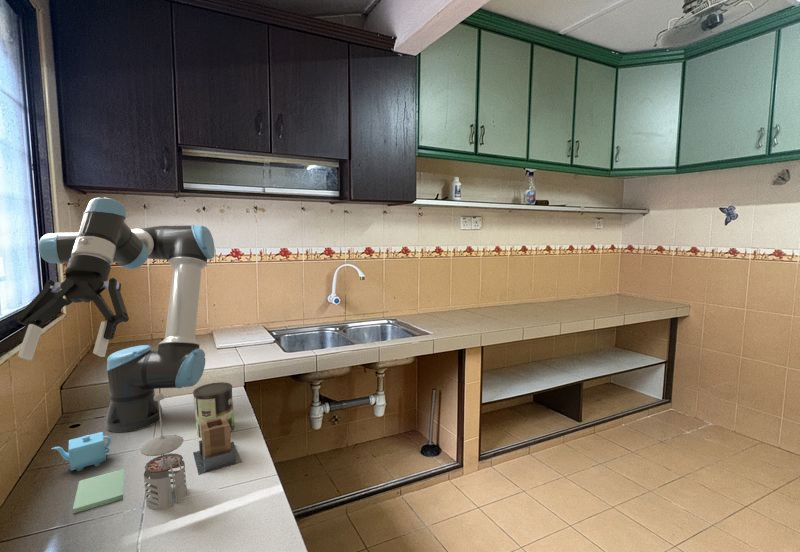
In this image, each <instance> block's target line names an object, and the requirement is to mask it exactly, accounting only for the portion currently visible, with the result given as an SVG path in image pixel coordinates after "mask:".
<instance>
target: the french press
mask: <svg viewBox="0 0 800 552" xmlns="http://www.w3.org/2000/svg"><path fill="white" fill-rule="evenodd" d="M164 399H165V398H164V394H163V393H157V394H155V396H154V401H158V404H159V415H160V420H159V425H160V435H159V436H156V437H153V438H151V439H149V440H148V441H147V442H145V443H144V444H143V445H142V446H141V448H140V449H139V450H140V453H141V454H142V455H143V456H146V457H154V458H152V459H150V460H149V461H148V462H147V463H145V466H144V469H145V471H144V472H143V482H144V483H145V484H144V489H145V490H144V492H145V495H146V496H145V504H146V508H149V509H152V510H163V509H168V508H172V507H173V505H174V504H173V493H172V492H173V491H175V503H176V504H179V503H180V502H182V501H183V500H184V498H186V496H187V493H188V489H187V477H186V476H187V475H186V464H185V461H184V460H183V459H184V458H183V456H182V455H181V454H180V453H172V452H174V451H176V450H177V449H179V447H181V446H182V444H183V443H184V441H185V439H184V437H183V436H181V435H177V434H163V427H162V426H163V425H162V418H161V411H160V405H161V401H163V400H164ZM178 468H179V470H173V469H178ZM170 475H172V476H170ZM171 480H172V481H171ZM174 489H175V490H174ZM156 493H157V494H156ZM152 497H154V498H152ZM155 498H156V499H155ZM148 501H149V502H148ZM150 502H152V503H150ZM153 503H154V504H153ZM155 503H156V504H158V505H156V504H155Z"/></svg>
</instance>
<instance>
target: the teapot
mask: <svg viewBox="0 0 800 552" xmlns="http://www.w3.org/2000/svg"><path fill="white" fill-rule="evenodd" d="M105 439H107V440H108V441H107V443H106V444H105ZM111 441H112V439H111V437H110V436H109V435H104V432H103V431H99V432H95V433H92V434H85V435H83V436H80V437H76V438H72V439H69V440H68V452H66V451H65V450H64V448H63V447H61V446H53V447H52V448H51V450H56V451H58V452H59V454H60V455H61V457H62V458H63V460H65V461H68V462H69V467H70V471H71V472H72V471H74V470H76V472H80V471H83V470H84V469H85V467H88V466H92V465H93V466H94V467H97V466H100V465H102V463H103V462H106V461H107V458H106V456H107V455H106V454H109V452H110V448H109V446H110V443H111Z"/></svg>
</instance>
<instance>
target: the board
mask: <svg viewBox="0 0 800 552" xmlns="http://www.w3.org/2000/svg"><path fill="white" fill-rule="evenodd" d="M125 470H126V469H125V468H122V469H120V470H119V469H118V470H115V471H111V472H108V473H105V474H100V475H97V476H92V477H89V478H88V477H87V478H84V479H82V480H79V481H78V485H77V490H76V493H75V497H74V502H73V507H72V514H77V513H80V512H83V511H84V512H85V511H87V510H90V509H94V508H97V507H101V506H104V505H108V504H110V503H114V502H117V501H120V500H123V499H124V490H125V489H124V488H125V487H124V486H125V472H126V471H125Z"/></svg>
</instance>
